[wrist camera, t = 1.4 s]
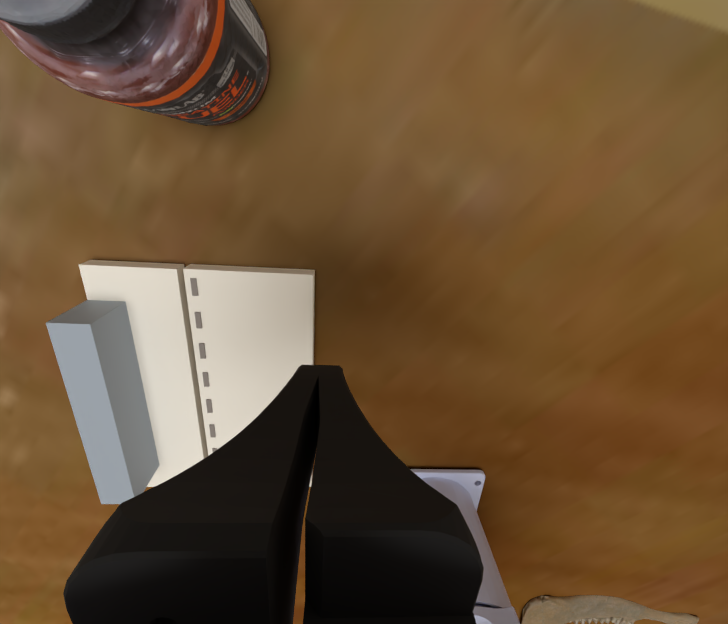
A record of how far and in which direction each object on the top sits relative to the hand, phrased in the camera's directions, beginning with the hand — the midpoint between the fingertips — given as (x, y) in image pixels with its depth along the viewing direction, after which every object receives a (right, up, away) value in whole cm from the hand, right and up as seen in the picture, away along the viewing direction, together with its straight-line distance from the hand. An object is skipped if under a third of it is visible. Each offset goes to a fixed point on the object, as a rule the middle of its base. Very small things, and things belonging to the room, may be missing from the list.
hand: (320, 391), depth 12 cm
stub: (-12, -2, +11) cm, 16 cm away
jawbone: (+25, -30, +26) cm, 47 cm away
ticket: (-5, -2, +12) cm, 13 cm away
